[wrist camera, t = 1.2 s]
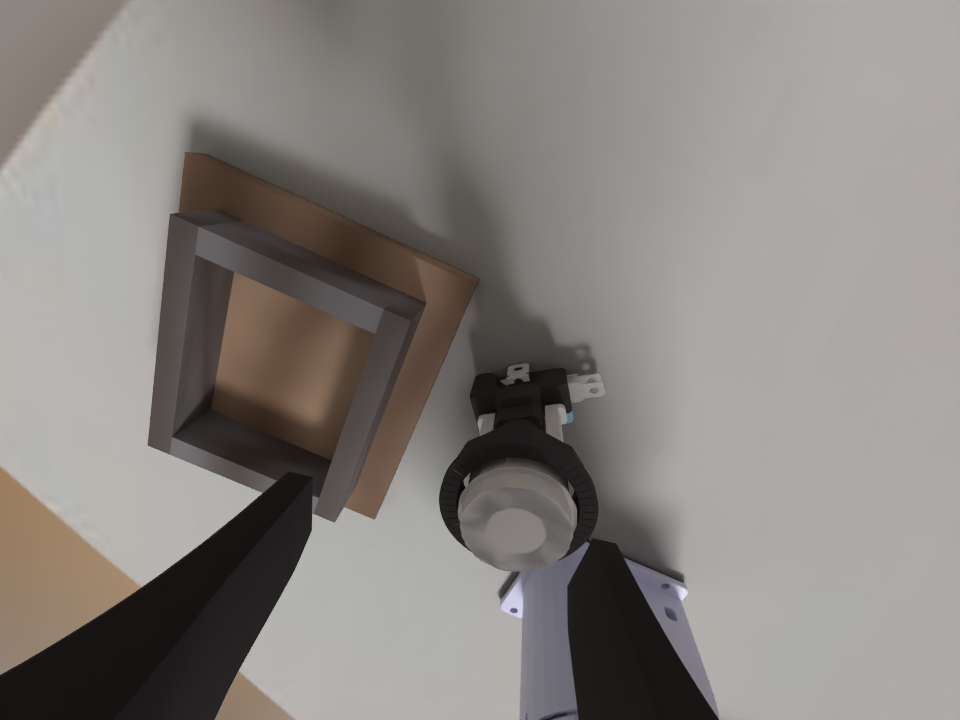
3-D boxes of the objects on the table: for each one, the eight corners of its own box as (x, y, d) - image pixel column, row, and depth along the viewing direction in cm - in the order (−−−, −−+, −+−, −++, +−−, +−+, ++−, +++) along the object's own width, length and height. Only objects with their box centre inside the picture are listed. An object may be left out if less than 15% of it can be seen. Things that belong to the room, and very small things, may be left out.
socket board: (479, 279, 20) (467, 300, 17) (381, 505, 27) (357, 556, 23) (204, 153, 20) (128, 147, 16) (172, 418, 26) (113, 457, 22)
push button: (593, 328, 21) (639, 445, 12) (606, 420, 23) (655, 584, 13) (463, 351, 22) (412, 472, 13) (486, 436, 24) (456, 596, 15)
